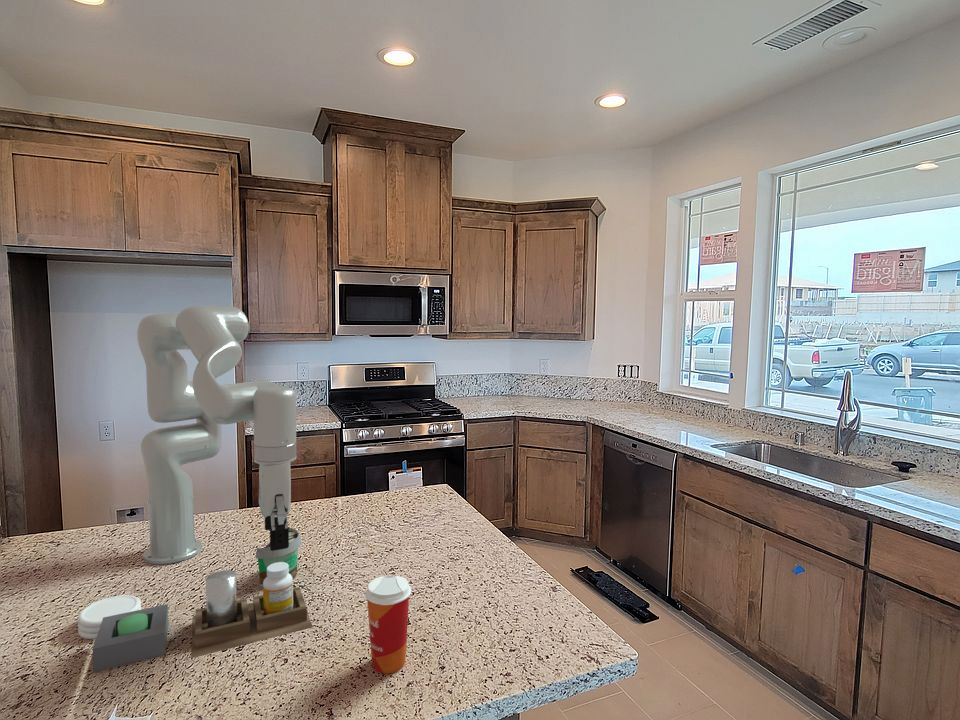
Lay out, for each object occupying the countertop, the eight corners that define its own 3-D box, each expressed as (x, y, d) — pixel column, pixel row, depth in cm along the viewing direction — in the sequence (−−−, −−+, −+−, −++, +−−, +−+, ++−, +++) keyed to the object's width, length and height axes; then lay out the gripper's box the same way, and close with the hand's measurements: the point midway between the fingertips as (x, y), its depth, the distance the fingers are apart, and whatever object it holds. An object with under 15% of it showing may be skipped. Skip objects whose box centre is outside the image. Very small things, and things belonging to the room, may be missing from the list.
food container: (282, 597, 111) (281, 551, 110) (256, 594, 112) (255, 549, 111) (312, 570, 123) (311, 528, 122) (288, 567, 124) (287, 526, 123)
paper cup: (368, 650, 94) (368, 574, 93) (412, 648, 94) (412, 572, 93) (362, 680, 86) (362, 598, 85) (410, 677, 87) (410, 596, 85)
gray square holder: (104, 644, 95) (103, 617, 94) (168, 629, 99) (167, 603, 99) (94, 678, 86) (92, 649, 85) (165, 660, 90) (164, 632, 90)
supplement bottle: (267, 608, 105) (265, 561, 104) (295, 605, 106) (294, 559, 105) (261, 623, 100) (259, 574, 99) (291, 621, 101) (289, 572, 100)
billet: (207, 624, 99) (205, 573, 98) (236, 618, 101) (235, 568, 101) (207, 639, 95) (205, 586, 94) (238, 632, 97) (236, 579, 96)
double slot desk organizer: (193, 621, 102) (192, 603, 102) (300, 596, 111) (300, 580, 111) (191, 663, 90) (190, 644, 89) (312, 632, 99) (312, 614, 98)
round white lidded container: (141, 630, 99) (140, 612, 99) (75, 647, 94) (73, 628, 94) (142, 605, 108) (141, 589, 107) (81, 619, 103) (80, 602, 102)
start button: (120, 641, 93) (119, 617, 93) (149, 634, 95) (148, 611, 95) (116, 655, 89) (115, 630, 89) (147, 648, 92) (146, 623, 91)
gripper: (250, 442, 106) (251, 524, 108) (258, 466, 91) (259, 562, 92) (289, 439, 109) (290, 518, 111) (303, 462, 94) (303, 553, 96)
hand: (276, 538), depth 102 cm, fingers open, 9 cm apart
